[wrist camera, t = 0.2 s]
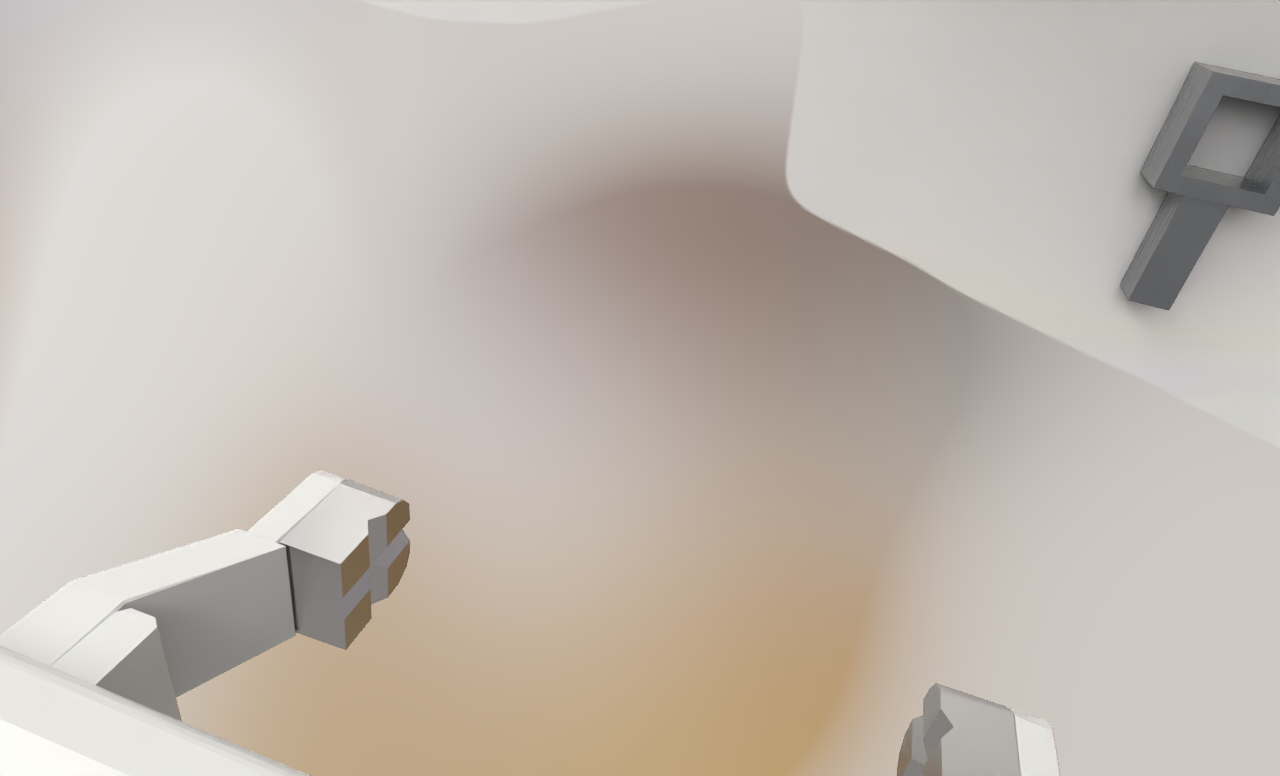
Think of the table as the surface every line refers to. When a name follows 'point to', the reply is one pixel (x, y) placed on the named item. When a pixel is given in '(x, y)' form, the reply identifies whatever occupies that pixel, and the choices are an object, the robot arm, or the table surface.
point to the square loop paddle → (1199, 183)
